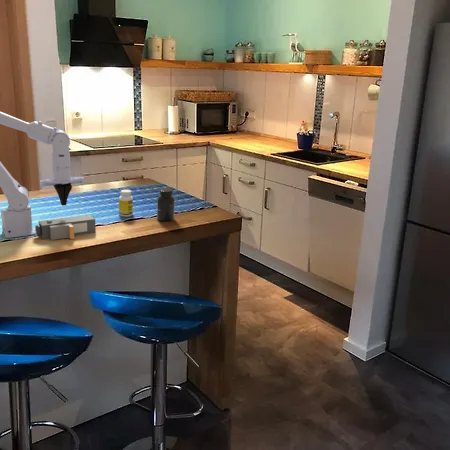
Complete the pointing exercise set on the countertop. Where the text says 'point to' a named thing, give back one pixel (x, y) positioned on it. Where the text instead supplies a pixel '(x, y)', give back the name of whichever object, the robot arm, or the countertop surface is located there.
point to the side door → (62, 231)
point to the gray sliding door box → (79, 223)
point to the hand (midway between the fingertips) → (63, 204)
